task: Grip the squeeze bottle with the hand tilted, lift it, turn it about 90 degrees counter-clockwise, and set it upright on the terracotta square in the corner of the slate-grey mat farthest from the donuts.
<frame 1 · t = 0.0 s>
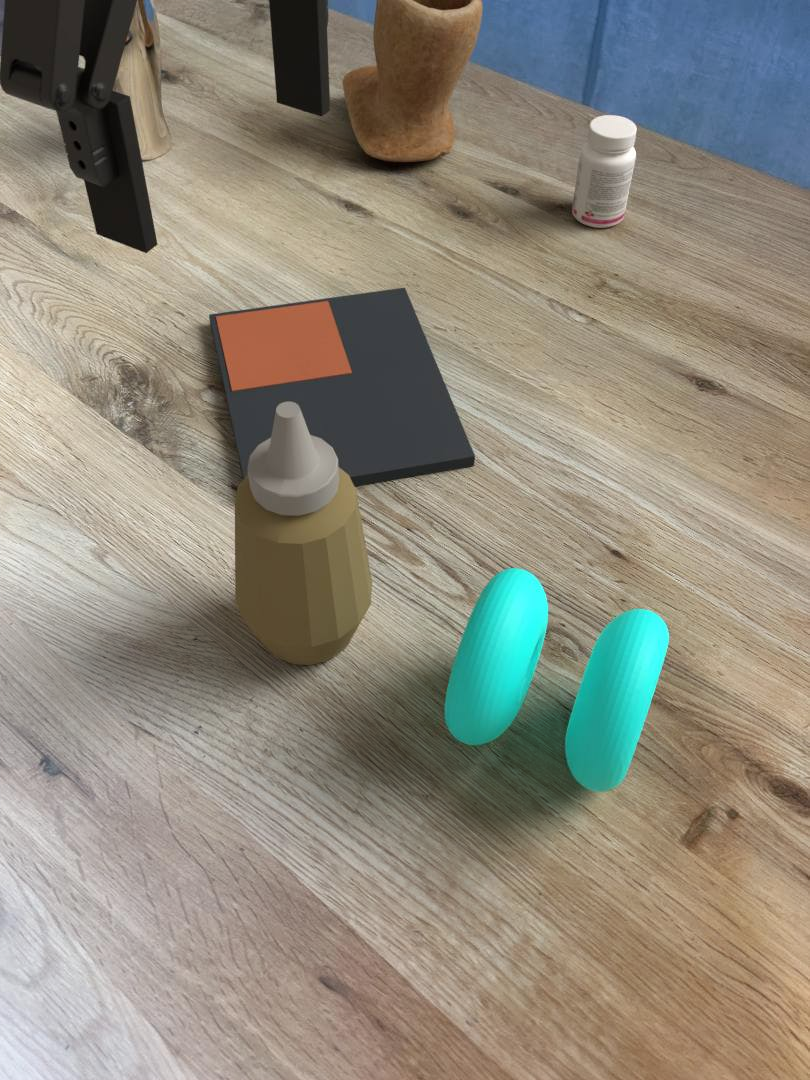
hand: (222, 168, 49), 27 cm above the table, tool pointing down, fingers open, 13 cm apart
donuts: (545, 727, 61), on the table
stone cup: (409, 133, 104), on the table
mat: (334, 390, 79), on the table
pill bottle: (597, 216, 95), on the table
chrome sculpted vase: (140, 147, 102), on the table
squeeze bottle: (307, 629, 65), on the table
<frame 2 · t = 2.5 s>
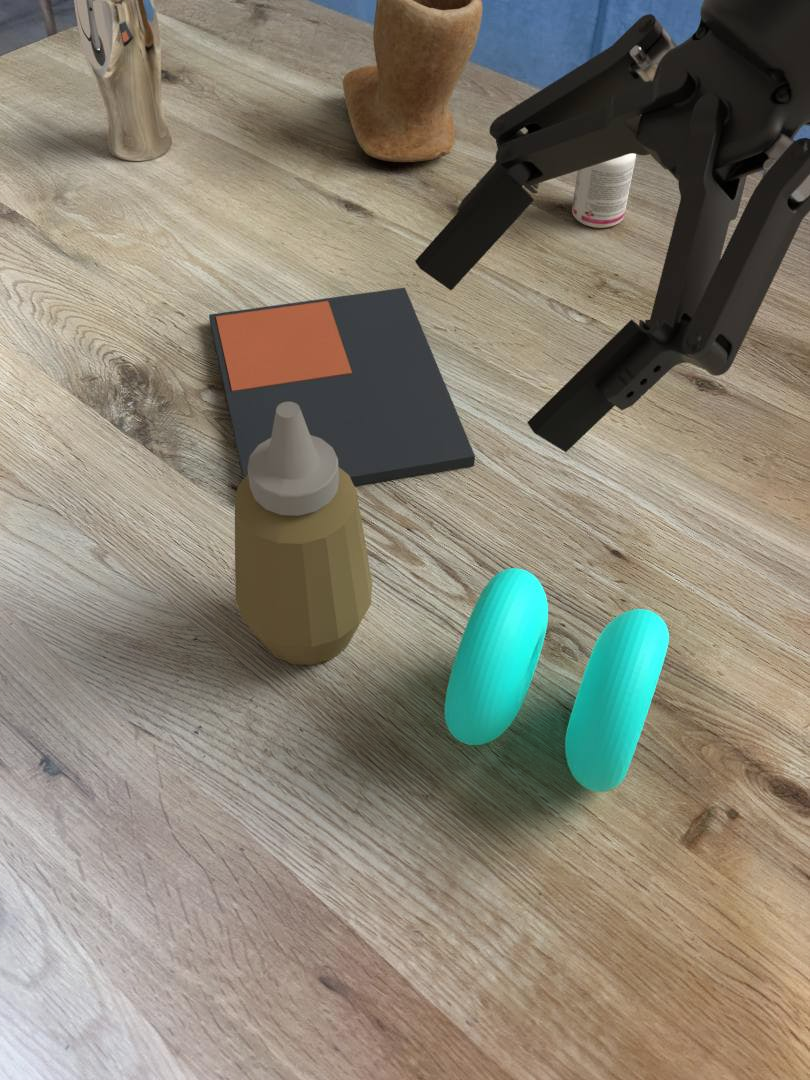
hand: (484, 351, 53), 19 cm above the table, tool tilted 45°, fingers open, 13 cm apart
nothing on the table moved.
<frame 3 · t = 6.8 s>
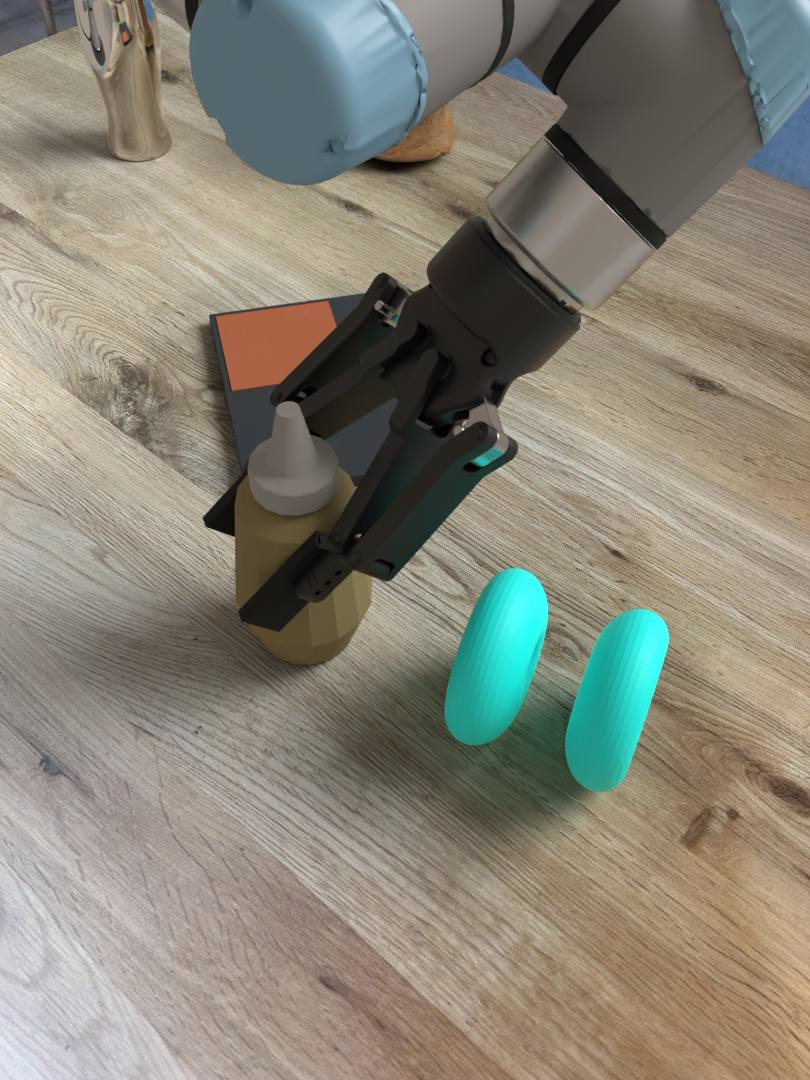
hand: (240, 573, 59), 7 cm above the table, tool tilted 45°, fingers closed on squeeze bottle, 6 cm apart
squeeze bottle: (307, 629, 65), on the table, touching gripper
everything else where it was.
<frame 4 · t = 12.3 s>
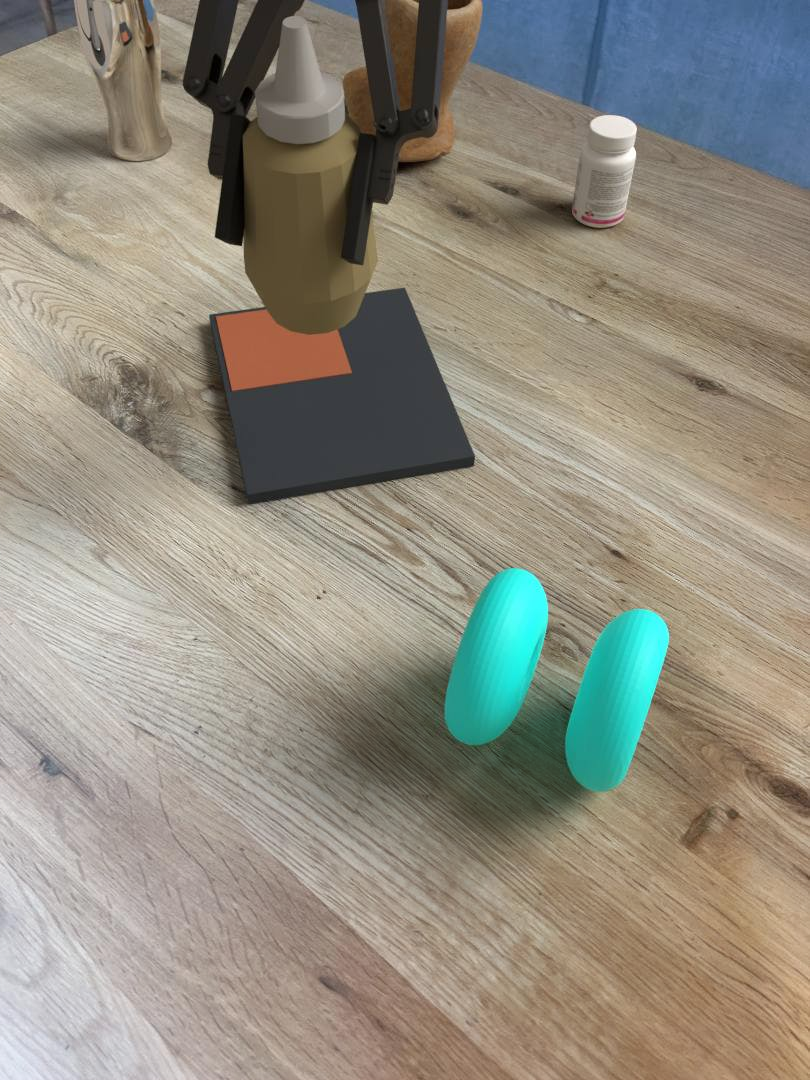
hand: (290, 251, 58), 19 cm above the table, tool tilted 40°, fingers closed on squeeze bottle, 6 cm apart
squeeze bottle: (314, 307, 66), point 12 cm above the table, touching gripper
everything else where it was.
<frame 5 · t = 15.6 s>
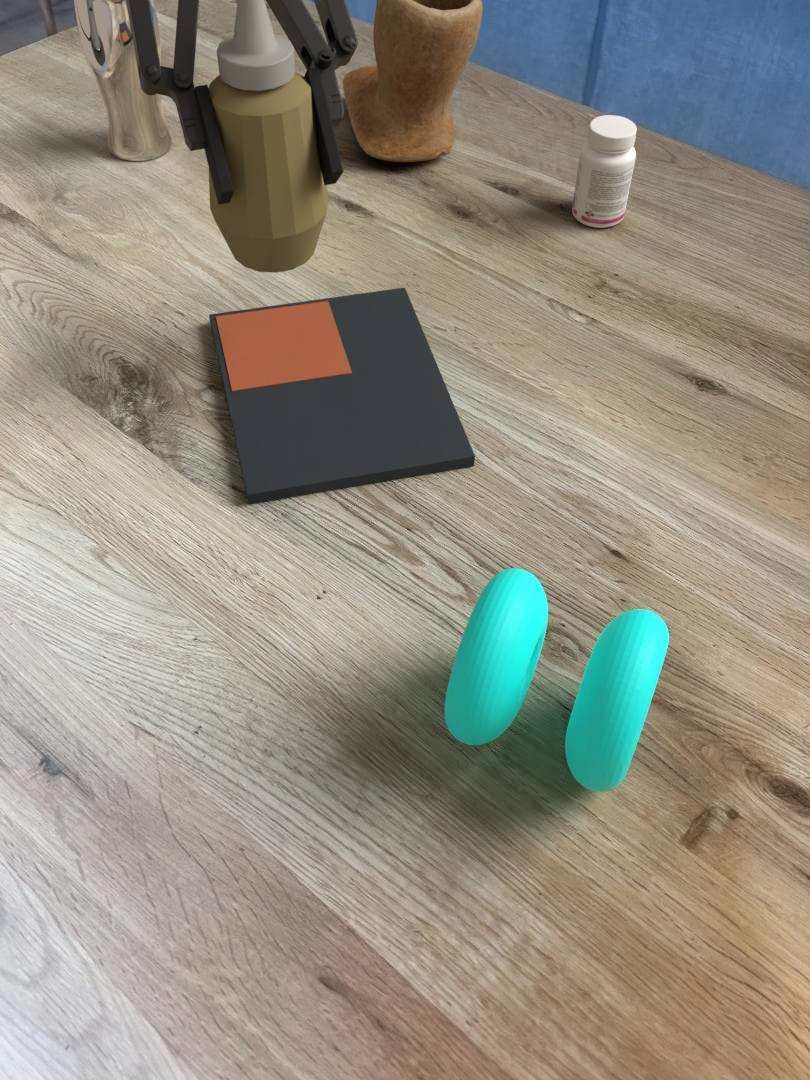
hand: (280, 187, 67), 16 cm above the table, tool tilted 45°, fingers closed on squeeze bottle, 6 cm apart
squeeze bottle: (274, 252, 75), point 9 cm above the table, touching gripper
everything else where it was.
when the fingers open (8 cm above the table, at t = 18.2 s): squeeze bottle stays where it is, resting on mat.
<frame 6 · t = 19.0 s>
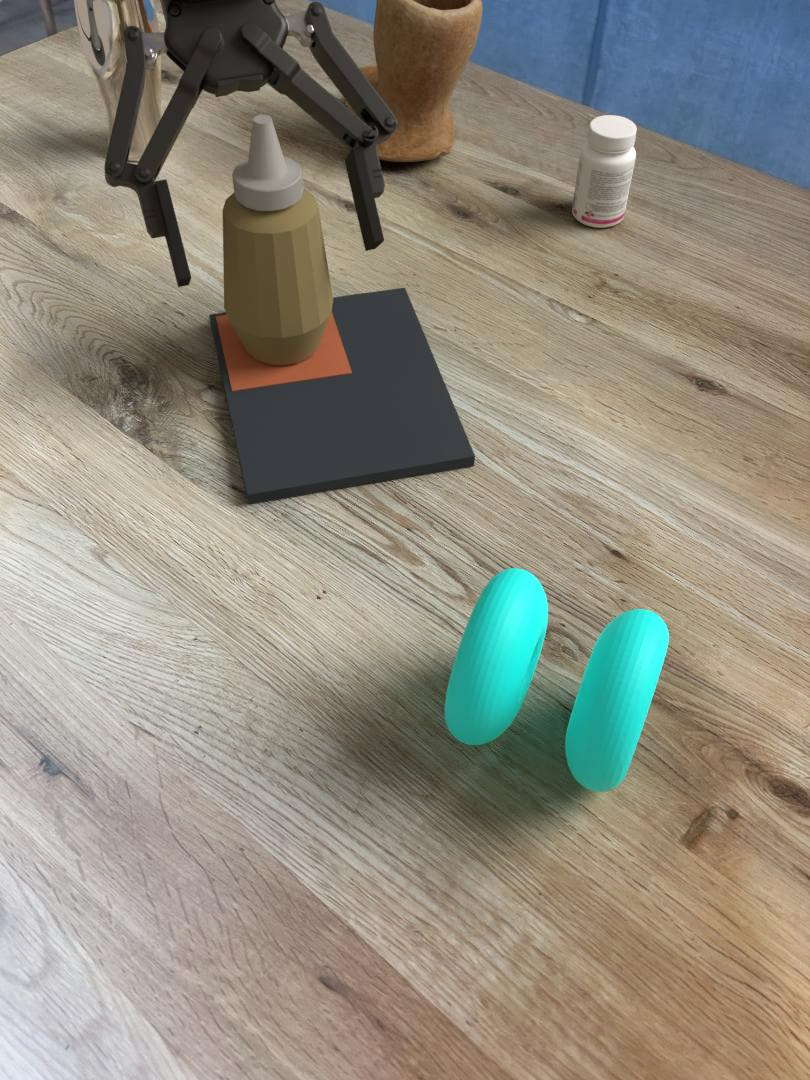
hand: (281, 264, 73), 10 cm above the table, tool tilted 45°, fingers open, 13 cm apart
squeeze bottle: (282, 344, 81), point 1 cm above the table, touching mat
everything else where it was.
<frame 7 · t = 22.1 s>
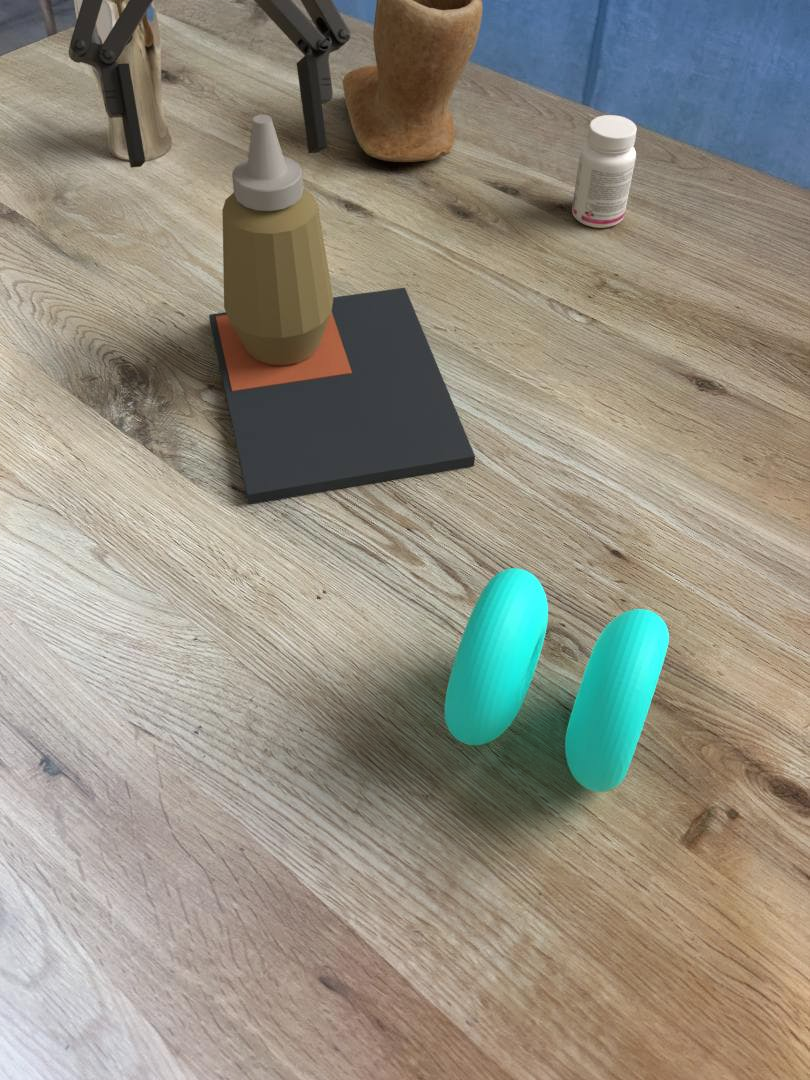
hand: (230, 158, 78), 12 cm above the table, tool tilted 35°, fingers open, 13 cm apart
nothing on the table moved.
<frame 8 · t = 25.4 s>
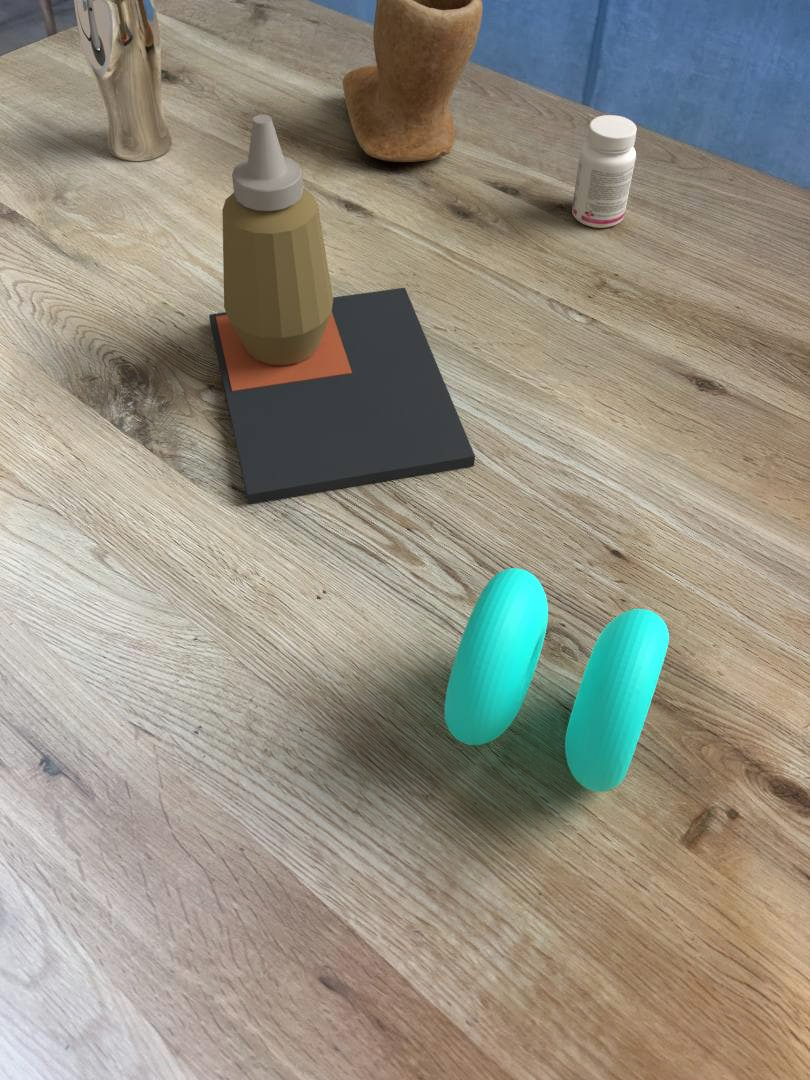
nothing on the table moved.
at the end: squeeze bottle inside the target area on the mat (0.1 cm from its centre), point 0.9 cm above the mat's base; squeeze bottle tilted 0°; the gripper is holding nothing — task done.
